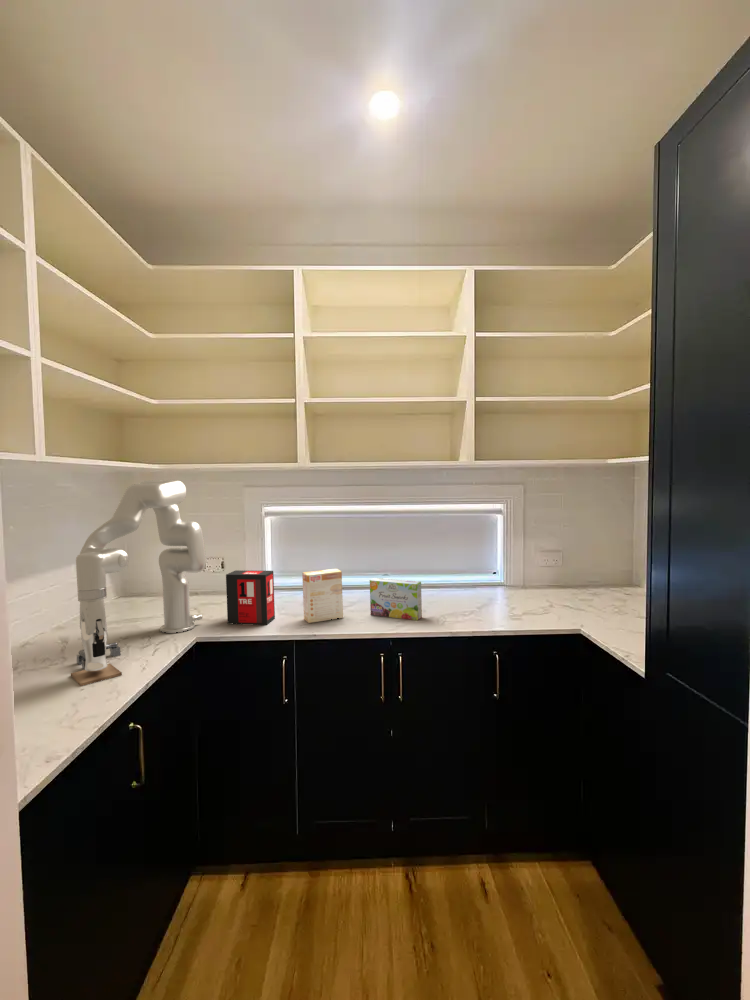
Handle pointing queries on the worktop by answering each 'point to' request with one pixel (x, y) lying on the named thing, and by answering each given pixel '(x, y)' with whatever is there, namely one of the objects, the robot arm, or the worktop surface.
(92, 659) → the beer glass
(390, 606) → the snack box
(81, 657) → the grey metal bent rod
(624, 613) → the worktop surface
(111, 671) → the walnut board
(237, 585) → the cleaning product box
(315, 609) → the coffeecake box
